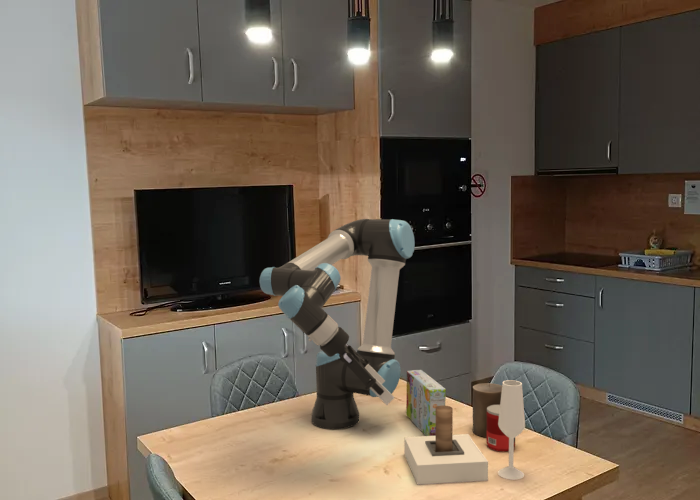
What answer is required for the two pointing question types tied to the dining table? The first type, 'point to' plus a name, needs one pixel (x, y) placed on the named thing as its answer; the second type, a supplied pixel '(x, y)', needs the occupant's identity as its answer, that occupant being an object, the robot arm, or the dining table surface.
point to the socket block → (445, 460)
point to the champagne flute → (511, 422)
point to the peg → (444, 428)
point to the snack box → (423, 400)
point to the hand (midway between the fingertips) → (385, 392)
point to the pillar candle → (484, 405)
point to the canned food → (496, 431)
